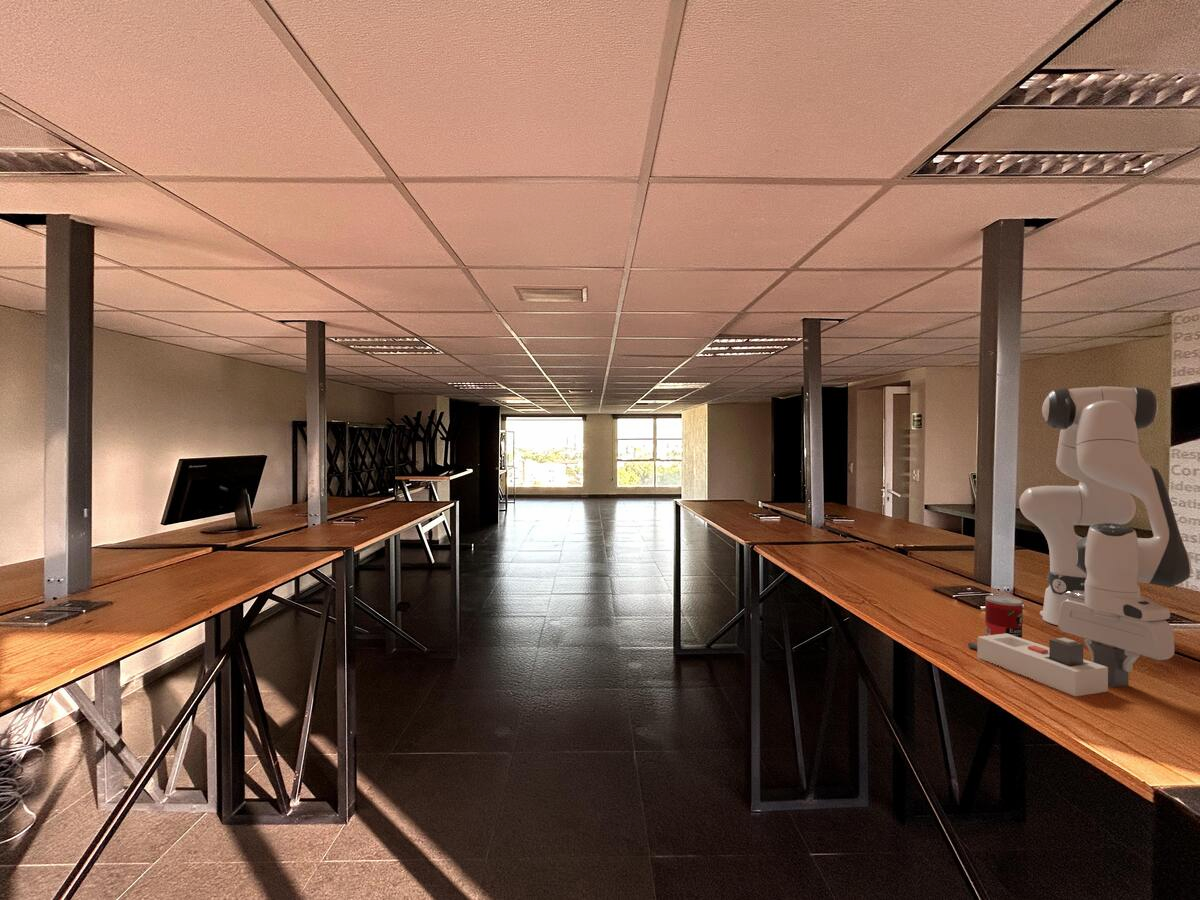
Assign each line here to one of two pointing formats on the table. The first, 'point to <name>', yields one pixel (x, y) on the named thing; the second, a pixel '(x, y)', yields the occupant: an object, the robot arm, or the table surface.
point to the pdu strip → (1045, 662)
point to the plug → (1111, 663)
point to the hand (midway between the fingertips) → (1111, 665)
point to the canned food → (1003, 615)
